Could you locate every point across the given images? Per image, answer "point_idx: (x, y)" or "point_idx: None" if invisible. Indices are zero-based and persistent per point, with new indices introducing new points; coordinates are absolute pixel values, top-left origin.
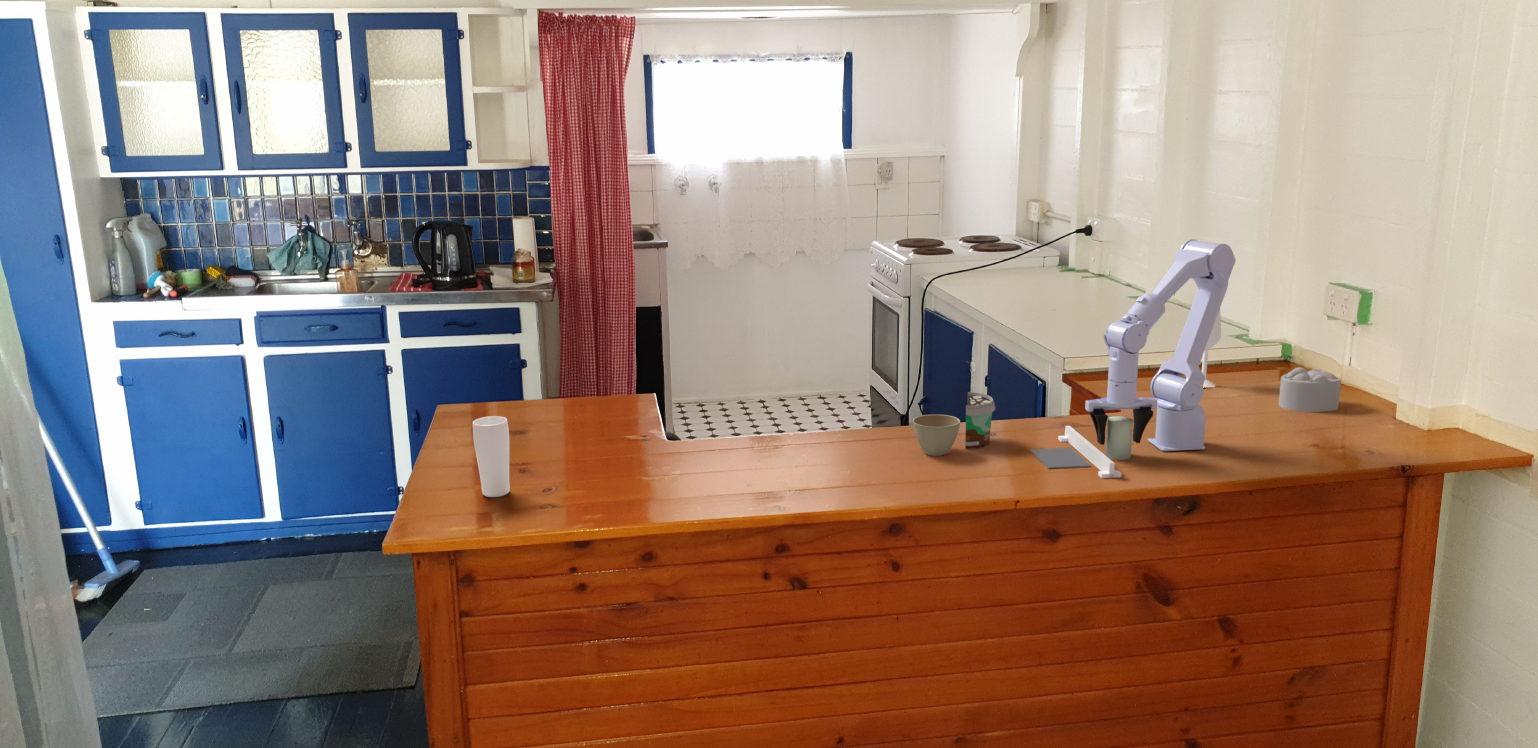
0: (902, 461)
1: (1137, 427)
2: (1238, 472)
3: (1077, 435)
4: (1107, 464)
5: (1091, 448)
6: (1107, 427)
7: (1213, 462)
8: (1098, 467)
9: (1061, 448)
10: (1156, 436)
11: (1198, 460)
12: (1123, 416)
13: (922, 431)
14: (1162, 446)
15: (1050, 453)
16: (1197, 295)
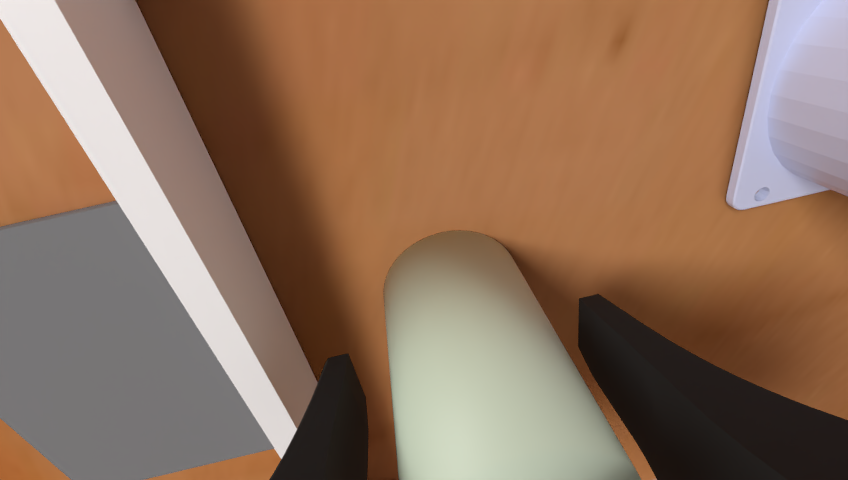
0: None
1: (645, 418)
2: (834, 399)
3: (151, 239)
4: None
5: (281, 456)
6: (397, 459)
7: (840, 318)
8: None
9: (75, 224)
10: (823, 95)
11: (801, 302)
12: (600, 451)
13: None
14: (768, 154)
15: (27, 326)
16: None
